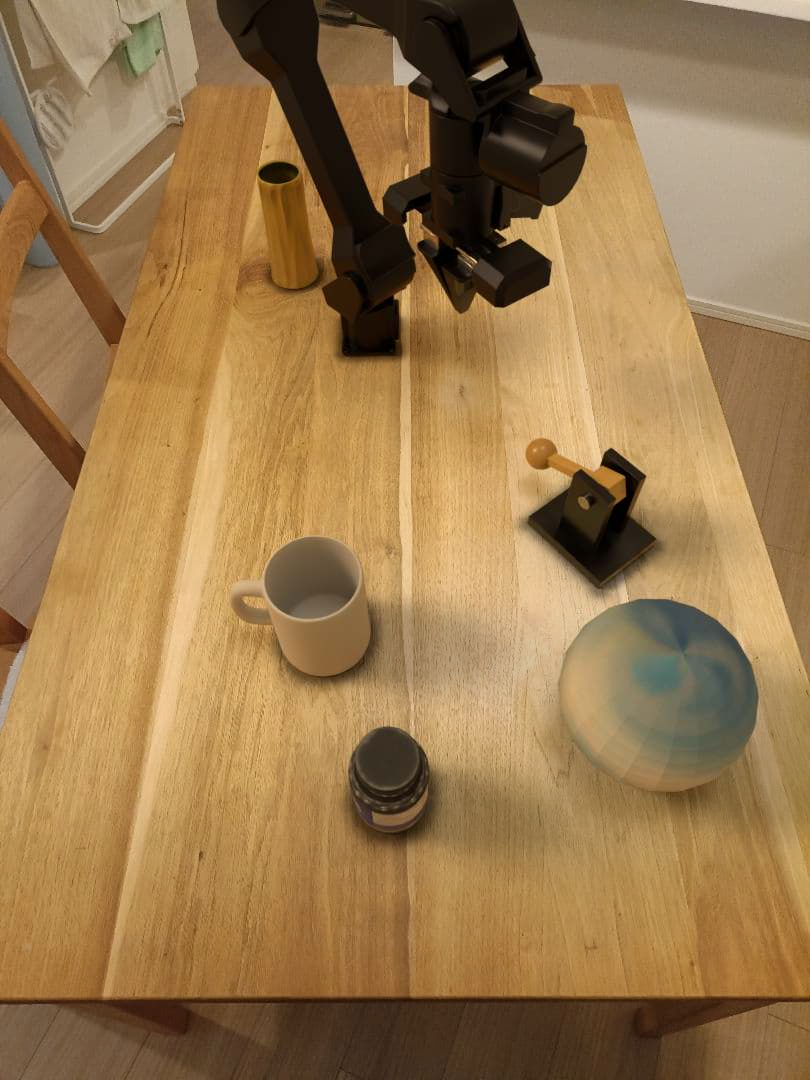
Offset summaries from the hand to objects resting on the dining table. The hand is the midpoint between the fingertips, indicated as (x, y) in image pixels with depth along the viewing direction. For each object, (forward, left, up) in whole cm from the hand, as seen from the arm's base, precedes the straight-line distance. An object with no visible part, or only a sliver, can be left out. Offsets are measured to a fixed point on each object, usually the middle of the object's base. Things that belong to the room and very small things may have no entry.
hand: (461, 310), depth 77 cm
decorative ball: (+14, -39, -13) cm, 43 cm away
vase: (-20, +22, -13) cm, 33 cm away
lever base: (+13, -19, -13) cm, 26 cm away
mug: (-15, -30, -13) cm, 36 cm away
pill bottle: (-7, -45, -13) cm, 47 cm away
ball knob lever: (+11, -16, -8) cm, 21 cm away
